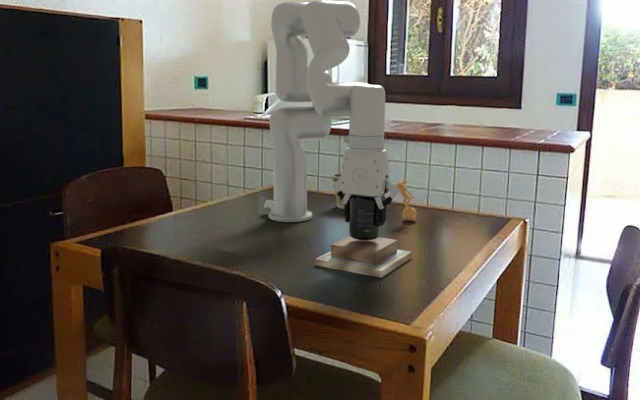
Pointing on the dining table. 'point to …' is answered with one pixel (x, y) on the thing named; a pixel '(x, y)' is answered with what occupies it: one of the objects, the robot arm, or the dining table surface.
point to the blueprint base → (362, 268)
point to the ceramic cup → (338, 199)
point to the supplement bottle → (363, 218)
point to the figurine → (408, 212)
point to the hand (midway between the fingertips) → (364, 222)
